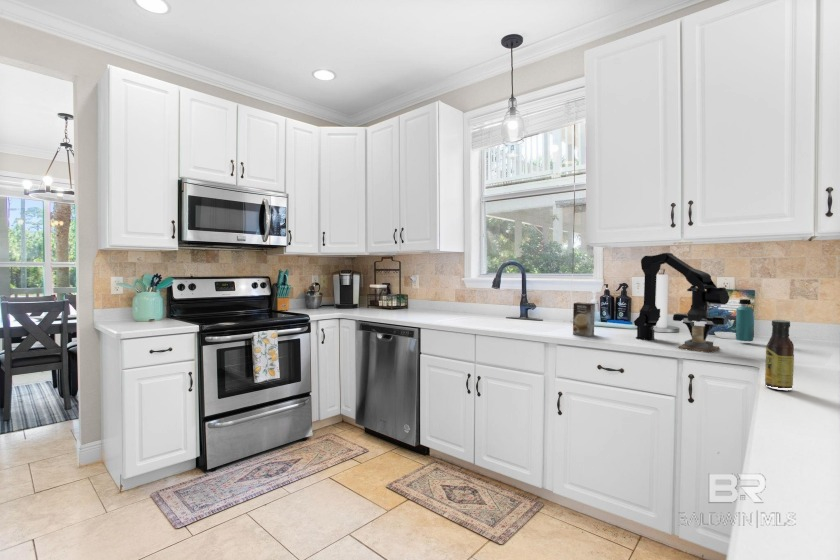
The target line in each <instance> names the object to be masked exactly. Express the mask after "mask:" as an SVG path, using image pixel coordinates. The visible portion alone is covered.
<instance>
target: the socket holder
mask: <svg viewBox="0 0 840 560" xmlns="http://www.w3.org/2000/svg"><path fill="white" fill-rule="evenodd" d="M677 348H679V350H686V349H687V350H688V351H693V350H695V352H701V351H703V353H709V352H712V353H714V352H716V351H718V350H720V346H718V345H714V341H709V340H706V344H704V343H696V342H692V338H691V339H688V340H685V341H684V343H683V344H681V345H678V347H677ZM717 349H718V350H717ZM687 350H686V351H687ZM715 350H716V351H715ZM713 351H714V352H713Z"/></svg>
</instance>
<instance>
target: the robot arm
mask: <svg viewBox="0 0 840 560" xmlns="http://www.w3.org/2000/svg"><path fill="white" fill-rule="evenodd" d="M664 264H667V265H668V266H669V267H671V268H672V269H674V270H676V272H678V273H680V274H681V275H683V276H684V277H685V279H686V281H687V283H689V284H690V285H691V286H690V287H689V288H687V290H686V291H687V292H691V305H690V309H689V310H688V311H687V312H686V313H679V312H678V313H674V314H673V316H672V321H675V322H682V324H684V325H685V326H686V327H687V328H688V331H689V334H690V337H691V338H692V326H695V322H698V323H699V322H706V323H705V324H704V326H705V331H704V340H706V341H707V338H708V336H709V333H710V332H711V330H712V328H713V327H714V326H717V325H718V326H719V325H720V326H725V325H727V324H728V318H727V317H726V316H719V315H718V316H717V315H715V316H713V317H709V313H708V312H709V311H708V310H709V304H713V305H726V304H728V302H729V300H730V295H729V293H728V291H727V290H726V289H727V288H726V287H717V285H716V284H715V283H714V281H713V280H712V276H711V274H709V273H707V272H705V271H703V270H701V269H696V268H694V267H692V266H690V265H689V264H688V263H686V262H684V261H683V260H682V259H680V258H679V257H677V256H676V255H674V254H673V253H672V252H663V253H660V254H655V255H645V256H643V257H642V258H641V259H640V265H641V270H642V272H643V274H644V283H643V289H644V290H643V305H642V307H641V308H640V310H639V316H638V317H637V318H636V319H635V320H633V323H634V326H635V327H637V328H636V330H637V331H636V336H635V339H640V340H646V341H651V340H654V339H655V329H654V327H657V323H658V322H659V320H660V318H661V308H658V307H657V304H656V303H657V302H656V298H657V297H656V296H657V274H658V273H659V271H660V269H661V266H662V265H664Z"/></svg>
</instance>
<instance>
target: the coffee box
mask: <svg viewBox="0 0 840 560" xmlns="http://www.w3.org/2000/svg"><path fill="white" fill-rule="evenodd" d="M595 305H596V303H593V302H580V301H579V302H574V303H573V305H572V306H573V307H572V309H573V311H572V312H573V313H572V316H573V317H572V319H573V321H572V335H576V336H577V335H578V336H585V337H591V336H594V335H595V314H596V313H595V312H596V309H595V308H596V306H595Z"/></svg>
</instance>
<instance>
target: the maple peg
mask: <svg viewBox="0 0 840 560" xmlns="http://www.w3.org/2000/svg"><path fill="white" fill-rule="evenodd" d="M704 331H705V325H704V326H703V325H695V324H694V326H692V337H691V339H692V342H696V343H704V344H706V341H707V339H706V340H704Z"/></svg>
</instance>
